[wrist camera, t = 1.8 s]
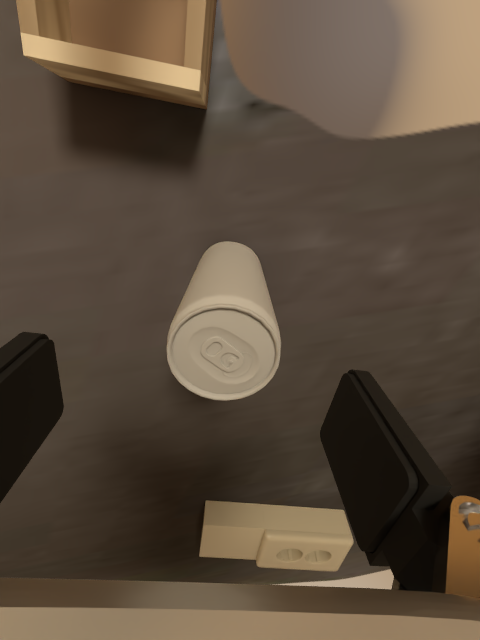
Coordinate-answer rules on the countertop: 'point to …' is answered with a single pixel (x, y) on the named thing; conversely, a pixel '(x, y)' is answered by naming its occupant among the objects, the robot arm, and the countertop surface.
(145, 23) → the can holder block
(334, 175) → the countertop surface
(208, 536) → the electrical outlet
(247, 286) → the beverage can
